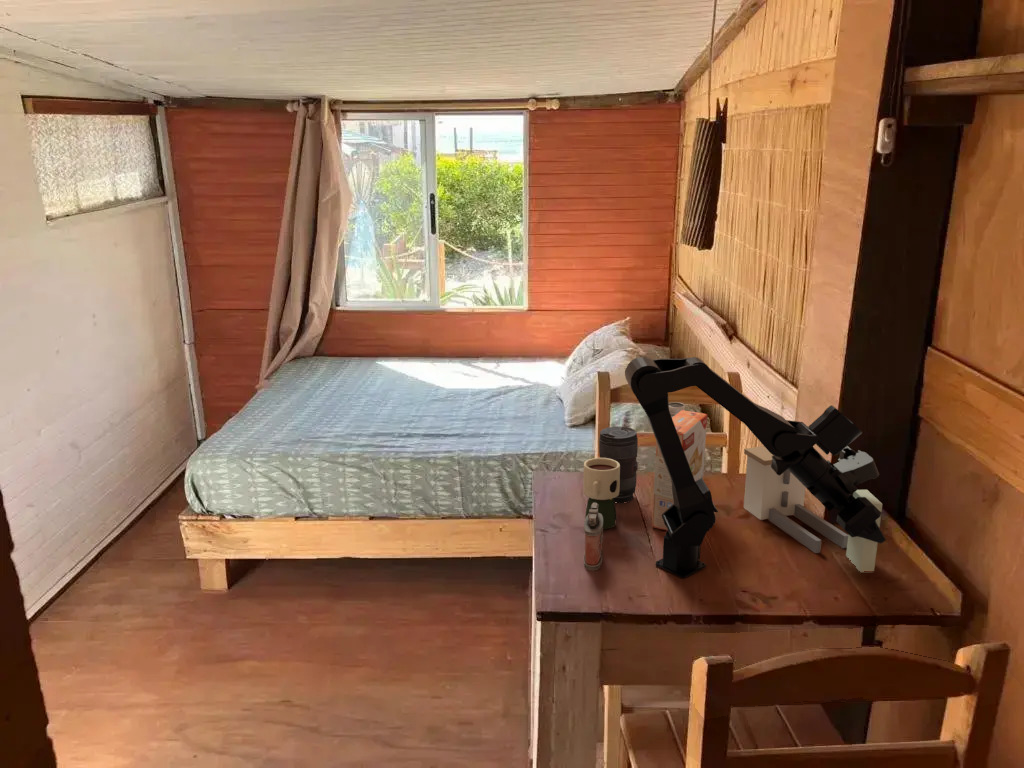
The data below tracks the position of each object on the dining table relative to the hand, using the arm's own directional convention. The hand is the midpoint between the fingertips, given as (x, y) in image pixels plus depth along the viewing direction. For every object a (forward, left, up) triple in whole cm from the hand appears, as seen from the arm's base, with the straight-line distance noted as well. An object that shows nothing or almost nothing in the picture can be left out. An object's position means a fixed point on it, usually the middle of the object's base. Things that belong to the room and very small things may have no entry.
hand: (871, 529), depth 136 cm
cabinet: (+4, +17, -7) cm, 18 cm away
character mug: (-25, +42, -7) cm, 49 cm away
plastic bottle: (-2, +43, -7) cm, 43 cm away
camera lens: (-13, +49, -7) cm, 51 cm away
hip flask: (-36, +33, -7) cm, 49 cm away
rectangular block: (-1, +1, -7) cm, 7 cm away
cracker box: (-11, +34, -7) cm, 36 cm away
